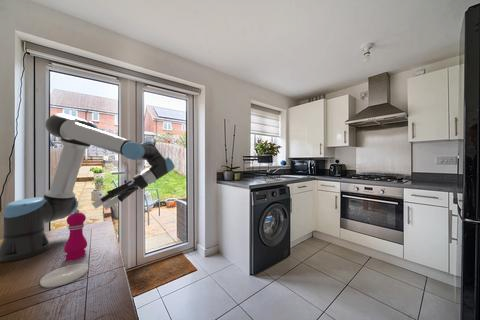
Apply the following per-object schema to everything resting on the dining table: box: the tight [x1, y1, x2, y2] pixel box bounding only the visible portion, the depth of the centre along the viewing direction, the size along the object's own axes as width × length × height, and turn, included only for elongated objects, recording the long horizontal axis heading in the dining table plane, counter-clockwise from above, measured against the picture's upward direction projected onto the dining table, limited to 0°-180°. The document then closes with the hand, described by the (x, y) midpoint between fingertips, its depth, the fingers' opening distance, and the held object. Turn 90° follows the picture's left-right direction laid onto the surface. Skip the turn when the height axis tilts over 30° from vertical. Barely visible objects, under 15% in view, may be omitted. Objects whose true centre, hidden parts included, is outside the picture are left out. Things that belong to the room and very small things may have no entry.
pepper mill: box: [63, 208, 88, 262], centre depth 76 cm, size 7×7×20 cm
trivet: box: [39, 263, 89, 289], centre depth 63 cm, size 12×12×1 cm
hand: (99, 206), depth 81 cm, fingers open, 13 cm apart
